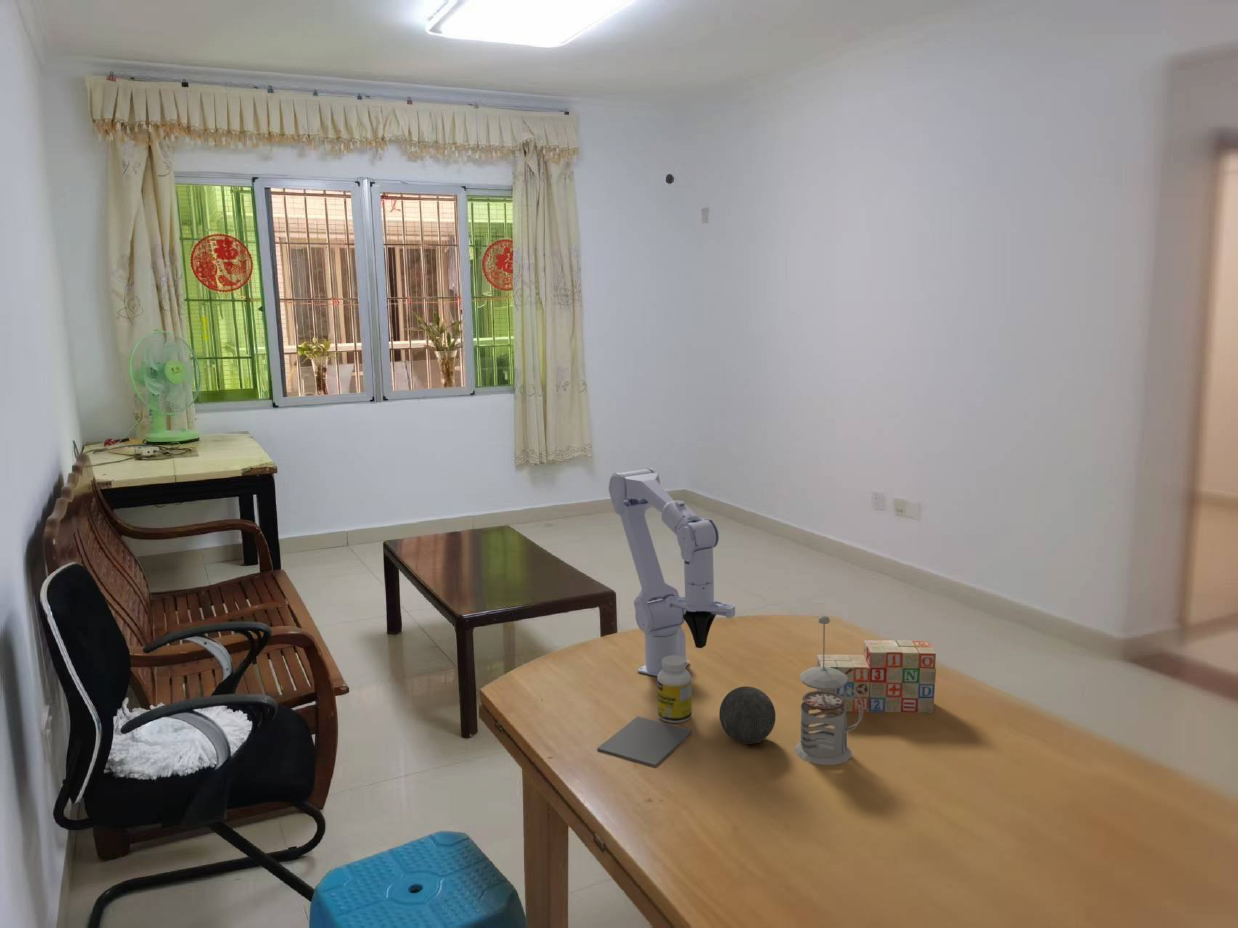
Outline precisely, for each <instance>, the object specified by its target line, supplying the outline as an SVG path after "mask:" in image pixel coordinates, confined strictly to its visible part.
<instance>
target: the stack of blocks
mask: <svg viewBox="0 0 1238 928" xmlns="http://www.w3.org/2000/svg"><path fill="white" fill-rule="evenodd" d="M862 650H863V652H862V653H863V654H824V666H826V667H830V668H834V669H837V670H839V671H841V672H842V673H844V674H845V675H846V676H847V678H848V679H847V683H846V684H845V685H844V686H842V687H841V688H837V689H833V690H824V691H829V692H830V691H831V692H833V693H836V694H839V695H840V696H842V697H843V693H844V692H846V689H847V688H851V689H852V690H853V691H855V692H856V693H857V694H858V696H859V697H860V699H861V701H862V704H863V713H869V712H870V713H914V712H925V713H926V712H930V714H931V713H932V714H934V713H933V712H934V711H935V689H936V688H935V687H936V679H937V678H936V677H937V676H936V675H937V673H936V672H937V670H936V655H937V652H936V651H935V650H934V648H933V647H932V645H931V644H930V642H929V641H928V640H925V641H924V640H921V641H920V640H912V639H897V640H891V639H889V640H887V639H886V640H885V639H884V640H877V639H876V640H873V639H872V640H865V639H864V640H863V649H862ZM816 667H823V654H817V655H816ZM819 690H820V691H823V690H821V689H816V691H819ZM848 693H850V694H851V695H852V696H853V697H854V698H855V699H856V701H857V703H858V705H859V707H860V713H862V706H861V703H860V700H859V698H858V697H857V696H856V694H855V693H854V692H852V691H851V690H849V689H848ZM845 695H846V693H845ZM843 699H844V700H845V702H844V705H845V707H846V712H853V713H854V712H855V713H856V712H858V713H859V709H858V706H857V704H856V701H855V700H854V699H853V698H852V697H851V696H850V695H848V694H847V696H846V698H843ZM837 710H838V711H839V712H843V711H842V710H841V709H840V708H838V709H837ZM821 711H824V710H820V712H821ZM925 713H924V714H925ZM926 714H927V713H926Z"/></svg>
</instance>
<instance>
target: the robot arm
mask: <svg viewBox="0 0 1238 928" xmlns="http://www.w3.org/2000/svg"><path fill="white" fill-rule="evenodd" d="M608 483H609V484H608V492H609V496H610V500H611V503H612V506H613V509H614V512H615V514H617V515H619V516H620V519H621V522H622V523H621V524H622V527H623V530H624V532H625V536H626V539H627V543H628V546H629V550H630V553H631V556H632V560H633V563H634V567H635V570H636V573H637V576H638V580H639V584H640V587H641V590H640V591H639V593H637V596H636V597H635V598H634V600H633V606H634V612H635V617H634V618H635V622H636V625H637V626H638V628H639V630H641V631H642V633H644V655H645V657H644V660H645V662H644V663H645V664H644V665H642V666H641V667H639V668H638V669H637V672H638V673H642V674H646V675H651V676H654V677H655V676H656V677H657V676H658V673H659V672H660V671H661V670H662V669H663V668H662V659H663V658H664V657H666V656H670V655H679V656H682V657H684V658H685V659H686V667H687V666H688V665H689V664H690V660H687V650H686V647H687V645H686V643H687V642H686V633H685V631H684V629H683V628H682V625H684V623H686V625H687V626H688V628H689V631H690V632H691V635H692V639H693V641H694V646H695V648H697V649H703V648H704V647H706V646H707V641H708V636H709V634H710V633H709V632H710V630H711V627H712V625H713V622H714V620H715V619H716V617H717V616H723V617H726V618H727V619H733V617H735V616H736V605H732V604H727V603H724V602H721V601H718V600H716V599H715V585H714V584H715V583H714V580H715V579H714V575H715V574H714V548H716V547H717V546H718V544H719V539H720V533H719V529H718V527H717V525H716V523H715V522H714V521H713V519H712V518H704V517H701V518H700V517H699V516H698V515H697V513H695V511H693V510H692V509H691V508H690V507H689V506H688V505H686V502H685V501H683V500H678V499H677V500H674V499H673V498H672V497H671V495H670V494H669V493H668V492H667V491H666V490H665V489H664V488H663V486H662V485H661V479H660V474H658V473H657V472H656V470H654V469H653V468H651V467H647V468H645V469H637V470H632V471H631V470H630V471H623V472H614V473H612V474H611V476H610V479H609V482H608ZM651 507H654V508H655V509H656V510H658V512H660V513H661V521H662V522H663V523H664V525H666V527H668V528H669V529H670V530H671V532H672V533H673V534H675V536H676V538H677V540H676V541H677V543H678V546H679V549H680V556H681V559H682V560H683V563H684V564H683V566H684V567H683V571H684V596H680V594H679V592H678V589H677V588H675V587H673V586H671V585H669V584H667V583H666V582H665V578H664V575H663V572H662V569H661V566H660V562H659V560H658V559H659V558H658V556H657V552H656V549H655V545H654V543H653V540H652V537H651V533H650V532H651V531H650V529H649V526H648V523H647V520H646V517H645V514H646V511H647V510H649V509H650V508H651Z"/></svg>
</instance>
